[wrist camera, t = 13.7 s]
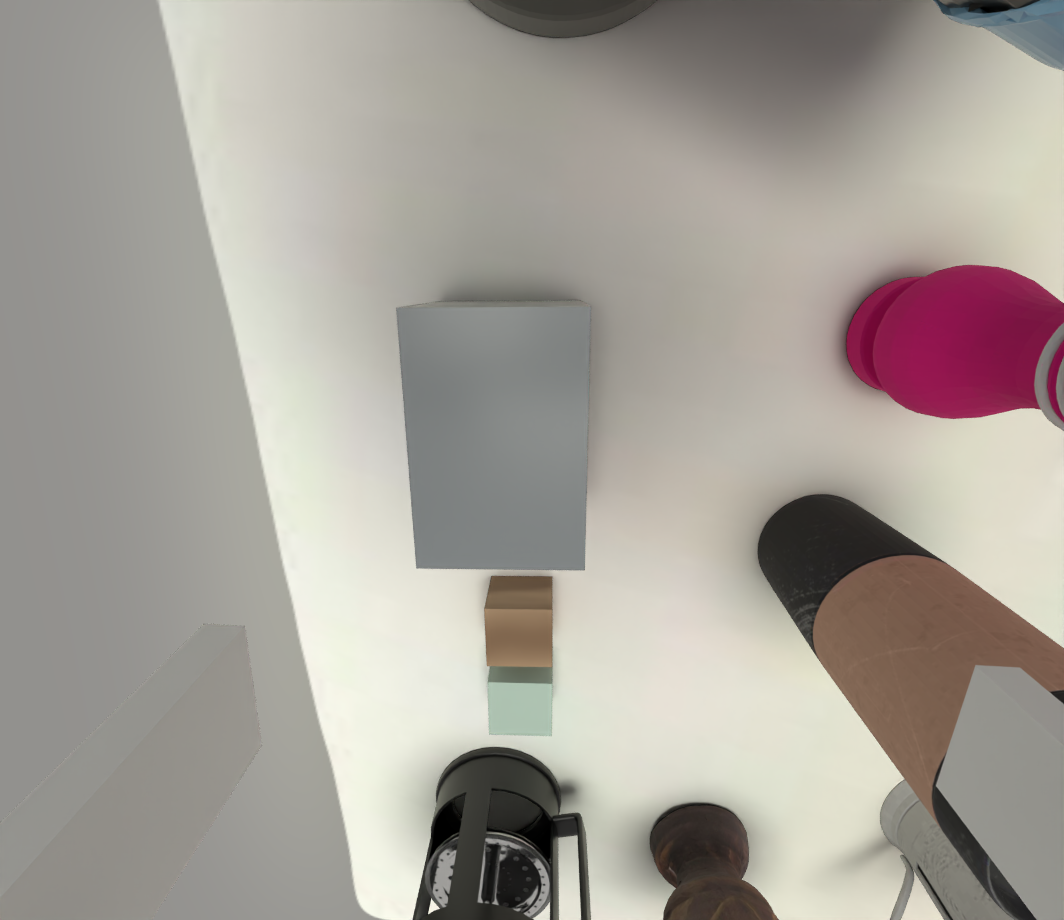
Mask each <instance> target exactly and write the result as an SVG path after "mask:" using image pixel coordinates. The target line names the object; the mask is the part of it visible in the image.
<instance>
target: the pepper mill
mask: <svg viewBox="0 0 1064 920" xmlns="http://www.w3.org/2000/svg"><path fill="white" fill-rule="evenodd" d="M847 355H848V359H849V362H850V364H851V366H852V368H853V371H854V372H855V373H856V375H857V376H858V377H859V378H860V379H861V380H862V381H863V382H865V383H866V384H868V385H869V386H871V387H873V388H876V389H879V390H882V391H885V392H887V394H888V395H889V396H890V397H891V398H892V399H893V400H895V401H896V402H897V403H899V404H901V405H902V406H904V407H905V408H907V409H909V410H912V411H914V412H916V413H921V414H925V415H930V416H935V417H940V418H949V419H958V418H976V417H984V416H988V415H993V414H997V413H1002V412H1006V411H1011V410H1015V409H1020V408H1035V409H1040V410H1042V412H1043V413H1044V415H1045V416H1046V417H1047V419H1048V420H1049V421H1051V422H1052V423H1053V424H1054V425H1055V426H1057V427H1058V428H1060V429H1062V430H1063V431H1064V303H1062V302H1061V301H1060V300H1058V299H1057V298H1056V297H1054V296H1053V295H1052V294H1051V293H1049V292H1048V291H1047V290H1046V289H1044V288H1043V287H1042V286H1040V285H1039V284H1038V283H1036V282H1035V281H1033V280H1031V279H1029V278H1027V277H1024V276H1022V275H1020V274H1018V273H1016V272H1013V271H1011V270H1007V269H1003V268H999V267H991V266H979V265H963V266H955V267H951V268H947V269H943V270H939V271H936V272H934V273H932V274H930V275H928V276H926V277H909V278H903V279H899V280H896V281H893V282H891V283H888V284H886V285H885V286H883V287H881V288H879V289H878V290H876V291H875V292H874V293H873V294H871V295H870V296H869V297H868V298H867V299H866V300H865V301H864V302H863V303H862V305H861V306H860V307H859V309H858V310H857V312H856V313H855V315H854V317H853V320H852V322H851V324H850V327H849V330H848V334H847Z"/></svg>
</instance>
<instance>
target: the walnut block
mask: <svg viewBox="0 0 1064 920" xmlns="http://www.w3.org/2000/svg"><path fill="white" fill-rule="evenodd" d="M484 612H485V635H486V658H487V666H514V667H552V577H542V576H491V581H490V585H489V590H488V594H487V599H486V604H485V608H484Z"/></svg>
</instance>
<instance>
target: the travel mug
mask: <svg viewBox="0 0 1064 920" xmlns="http://www.w3.org/2000/svg"><path fill="white" fill-rule="evenodd" d="M758 557H759V563H760V566H761V569H762V571H763V573H764V575H765V577H766V578H767V580H768V582H769V583H770V585H771V587H772V588H773V590H774V591H775V593H776V594H777V596H778V598H779V599H780V601H781V602H782V604H783V605H784V607H785V608H786V610H787V611H788V613H789V615H790V616H791V618H792V619H793V621H794V622H795V624H796V625H797V627H798V628H799V630H800V632H801V633H802V635H803V636H804V638H805V639H806V641H807V642H808V644H809V646H810V647H811V649H812V650H813V652H814V653H815V655H816V656H817V658H818V659H819V661H820V662H821V664H822V665H823V667H824V668H825V669H826V671H827V672H828V674H829V675H830V676H831V678H832V679H833V680H834V682H835V683H836V685H837V686H838V687H839V689H840V690H841V692H842V693H843V694H844V696H845V697H846V698H847V700H848V701H849V703H850V704H851V705H852V707H853V708H854V710H855V711H856V712H857V714H858V715H859V716H860V718H861V719H862V721H863V722H864V723H865V725H866V726H867V727H868V729H869V730H870V732H871V733H872V734H873V736H874V737H875V739H876V740H877V741H878V743H879V744H880V745H881V747H882V748H883V750H884V751H885V752H886V754H887V755H888V757H889V758H890V759H891V761H892V762H893V763H894V765H895V766H896V768H897V769H898V770H899V772H900V773H901V774H902V776H903V777H904V779H905V780H906V781H907V783H908V784H909V786H910V787H911V788H912V790H913V791H914V792H915V794H916V795H917V797H918V798H919V799H920V801H921V802H922V804H923V805H924V806H925V808H926V809H927V810H928V812H929V813H930V815H931V816H932V817H933V819H934V820H935V821H936V823H937V824H938V826H939V827H940V828H941V830H942V831H943V833H944V834H945V835H946V837H947V838H948V839H949V841H950V842H951V844H952V845H953V846H954V848H955V849H956V851H957V852H958V853H959V855H960V856H961V857H962V859H963V860H964V862H965V863H966V864H967V866H968V867H969V869H970V870H971V871H972V873H973V874H974V875H975V877H976V878H977V880H978V881H979V882H980V884H981V885H982V886H983V888H984V889H985V890H986V892H987V893H988V894H989V896H990V897H991V898H992V899H993V901H994V902H995V903H996V904H997V905H998V906H999V907H1000V908H1001V909H1002V910H1003V911H1004V912H1005V913H1006V914H1007V915H1008V916H1010V917H1011V918H1013V919H1014V920H1037V919H1036V918H1035V917H1034V916H1033V914H1032V913H1031V912H1030V910H1029V909H1028V908H1027V906H1026V905H1025V904H1024V902H1023V901H1022V900H1021V898H1020V897H1019V896H1018V894H1017V893H1016V892H1015V890H1014V889H1013V888H1012V886H1011V885H1010V884H1009V882H1008V881H1007V880H1006V878H1005V877H1004V876H1003V874H1002V873H1001V872H1000V870H999V869H998V868H997V866H996V865H995V864H994V862H993V861H992V860H991V858H990V857H989V856H988V854H987V853H986V852H985V850H984V849H983V848H982V846H981V845H980V844H979V842H978V841H977V840H976V838H975V837H974V836H973V834H972V833H971V832H970V830H969V829H968V828H967V826H966V825H965V824H964V822H963V821H962V820H961V818H960V817H959V816H958V814H957V813H956V812H955V811H954V809H953V808H952V807H951V805H950V804H949V803H948V801H947V800H946V799H945V797H944V796H943V795H942V793H941V792H940V791H939V789H938V788H937V787H936V784H937V781H938V778H939V775H940V771H941V768H942V765H943V762H944V759H945V756H946V753H947V750H948V747H949V744H950V741H951V738H952V735H953V732H954V729H955V726H956V723H957V720H958V717H959V714H960V711H961V708H962V705H963V702H964V699H965V696H966V693H967V689H968V686H969V683H970V680H971V677H972V674H973V671H974V668H975V665H983V666H1002V667H1020V668H1021V669H1022V670H1023V671H1025V672H1026V673H1027V674H1028V675H1029V676H1031V677H1032V678H1033V679H1034V680H1035V681H1037V682H1038V683H1039V684H1040V685H1041V686H1043V687H1044V688H1045V689H1046V690H1047V691H1049V692H1050V693H1051V694H1052V695H1053V696H1055V697H1056V698H1057V699H1058V700H1059V701H1061V702H1062V703H1063V704H1064V648H1063V647H1061V646H1060V645H1059V644H1057V643H1056V642H1054V641H1053V640H1052V639H1050V638H1049V637H1048V636H1046V635H1045V634H1043V633H1042V632H1041V631H1039V630H1038V629H1037V628H1035V627H1034V626H1033V625H1031V624H1030V623H1028V622H1027V621H1026V620H1024V619H1023V618H1022V617H1020V616H1019V615H1017V614H1016V613H1015V612H1013V611H1012V610H1011V609H1009V608H1008V607H1006V606H1005V605H1004V604H1002V603H1001V602H1000V601H998V600H997V599H995V598H994V597H993V596H991V595H990V594H989V593H987V592H986V591H985V590H983V589H982V588H980V587H979V586H978V585H976V584H975V583H974V582H972V581H971V580H969V579H968V578H967V577H965V576H964V575H963V574H961V573H960V572H958V571H957V570H956V569H954V568H953V567H951V566H950V565H948V564H947V563H945V562H944V561H942V560H941V559H939V558H938V557H936V556H935V555H933V554H932V553H930V552H929V551H927V550H925V549H924V548H922V547H921V546H919V545H918V544H916V543H915V542H913V541H912V540H910V539H909V538H907V537H906V536H904V535H903V534H901V533H900V532H898V531H896V530H895V529H893V528H892V527H890V526H889V525H887V524H886V523H884V522H883V521H881V520H880V519H878V518H877V517H875V516H874V515H872V514H871V513H869V512H867V511H866V510H864V509H863V508H861V507H859V506H858V505H856V504H854V503H852V502H851V501H849V500H846V499H844V498H841V497H837V496H832V495H813V496H808V497H803V498H801V499H798V500H795V501H793V502H791V503H789V504H788V505H786V506H784V507H783V508H782V509H780V510H779V511H778V512H777V513H776V514H775V515H774V516H773V517H772V518H771V519H770V520H769V522H768V523H767V525H766V526H765V528H764V530H763V532H762V534H761V537H760V541H759V546H758Z"/></svg>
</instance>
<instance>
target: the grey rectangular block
mask: <svg viewBox="0 0 1064 920" xmlns="http://www.w3.org/2000/svg"><path fill="white" fill-rule="evenodd" d="M396 309H397V322H398V335H399V348H400V361H401V374H402V387H403V400H404V413H405V426H406V439H407V452H408V465H409V478H410V491H411V504H412V517H413V530H414V543H415V556H416V568H428V569H514V570H585V535H586V493H587V450H588V408H589V365H590V322H591V306H589V305H587V304H586V303H584V302H583V301H581V300H567V301H438V302H431V303H425V304H418V305H411V306H405V307H398V308H396Z"/></svg>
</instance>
